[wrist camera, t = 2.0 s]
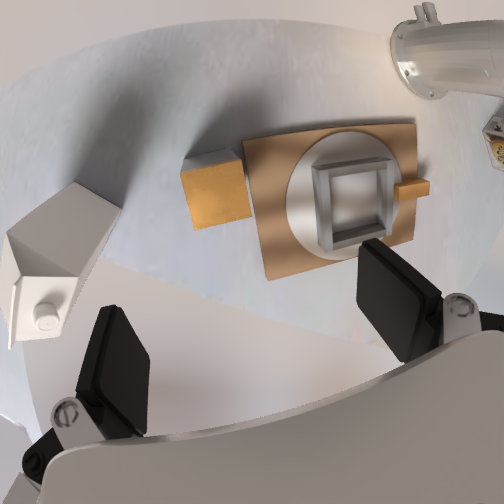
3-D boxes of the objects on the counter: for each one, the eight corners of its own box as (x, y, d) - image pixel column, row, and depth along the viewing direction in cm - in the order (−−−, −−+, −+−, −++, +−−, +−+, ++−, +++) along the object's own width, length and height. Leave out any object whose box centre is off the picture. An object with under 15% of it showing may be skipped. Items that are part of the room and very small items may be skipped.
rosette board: (241, 141, 29) (248, 144, 26) (414, 123, 32) (434, 126, 28) (265, 276, 38) (273, 294, 34) (412, 235, 40) (428, 247, 37)
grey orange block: (184, 158, 29) (179, 174, 21) (228, 148, 30) (241, 159, 22) (194, 200, 31) (194, 230, 24) (237, 189, 32) (252, 216, 24)
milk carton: (55, 229, 29) (-24, 327, 13) (74, 180, 27) (-24, 257, 11) (100, 255, 32) (46, 371, 15) (122, 208, 30) (60, 312, 14)
